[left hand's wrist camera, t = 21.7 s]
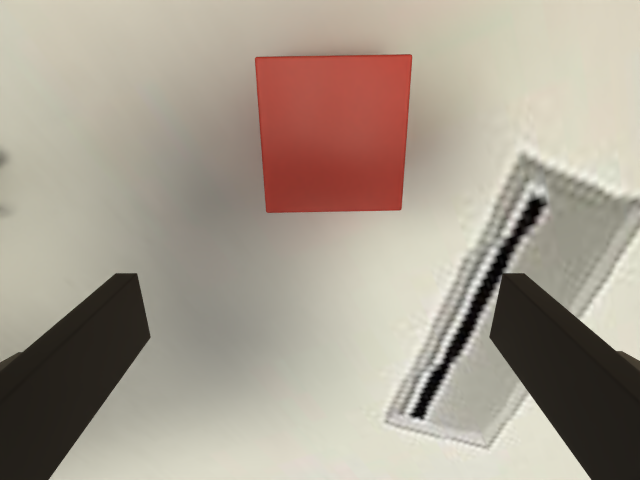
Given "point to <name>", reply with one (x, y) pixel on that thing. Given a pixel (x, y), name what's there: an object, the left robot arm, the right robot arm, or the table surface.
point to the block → (333, 131)
